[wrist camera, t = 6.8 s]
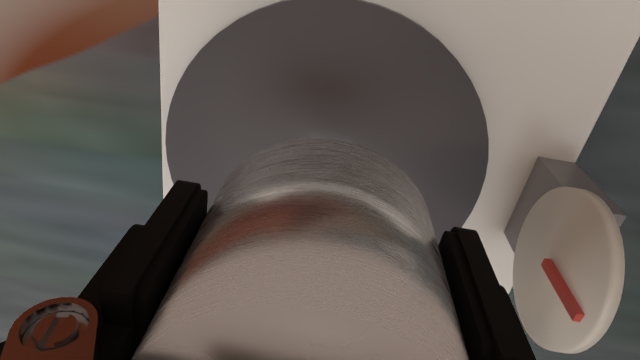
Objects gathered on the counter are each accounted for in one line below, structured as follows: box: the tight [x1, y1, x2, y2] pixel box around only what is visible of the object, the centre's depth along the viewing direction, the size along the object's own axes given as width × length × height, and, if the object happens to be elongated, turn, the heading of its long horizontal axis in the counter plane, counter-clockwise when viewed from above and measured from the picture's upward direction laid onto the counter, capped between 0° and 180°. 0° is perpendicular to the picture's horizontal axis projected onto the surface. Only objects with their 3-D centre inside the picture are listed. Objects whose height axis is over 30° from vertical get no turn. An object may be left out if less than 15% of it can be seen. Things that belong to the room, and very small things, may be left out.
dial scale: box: [159, 0, 640, 354], centre depth 21 cm, size 22×22×12 cm
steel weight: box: [131, 138, 469, 360], centre depth 10 cm, size 6×6×6 cm
